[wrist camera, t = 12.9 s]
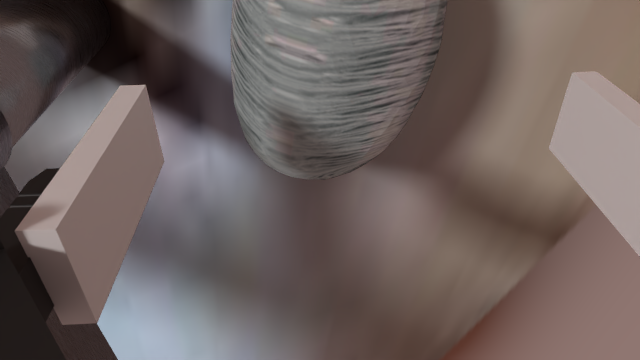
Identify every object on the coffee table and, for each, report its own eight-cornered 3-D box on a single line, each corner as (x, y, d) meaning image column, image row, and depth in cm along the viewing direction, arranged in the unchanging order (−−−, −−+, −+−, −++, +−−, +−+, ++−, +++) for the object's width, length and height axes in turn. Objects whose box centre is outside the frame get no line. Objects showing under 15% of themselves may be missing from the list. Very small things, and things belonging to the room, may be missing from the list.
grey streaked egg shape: (401, 182, 27) (355, 243, 18) (256, 126, 30) (150, 155, 20) (496, -75, 23) (499, -166, 14) (317, -117, 25) (216, -220, 16)
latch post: (42, 56, 25) (-89, 171, 16) (13, -24, 23) (-158, 60, 14) (119, 54, 25) (30, 167, 17) (98, -26, 23) (-19, 56, 14)
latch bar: (-184, 66, 14) (-308, 125, 11) (-33, 48, 14) (-117, 103, 11) (113, 459, 28) (93, 530, 25) (188, 451, 28) (176, 521, 25)
